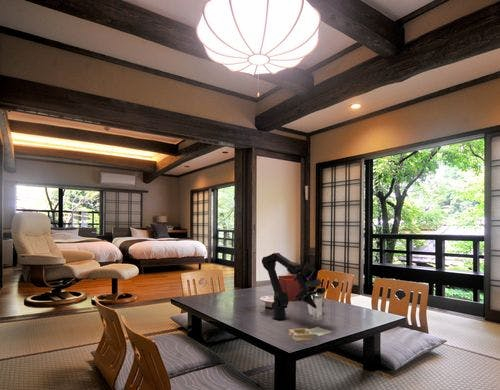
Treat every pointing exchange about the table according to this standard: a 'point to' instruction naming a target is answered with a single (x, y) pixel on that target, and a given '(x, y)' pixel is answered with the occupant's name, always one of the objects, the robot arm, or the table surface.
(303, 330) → the bore block
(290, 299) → the plant pot
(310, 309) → the cup
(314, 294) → the salt shaker
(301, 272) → the robot arm
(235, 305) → the table surface
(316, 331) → the pad
